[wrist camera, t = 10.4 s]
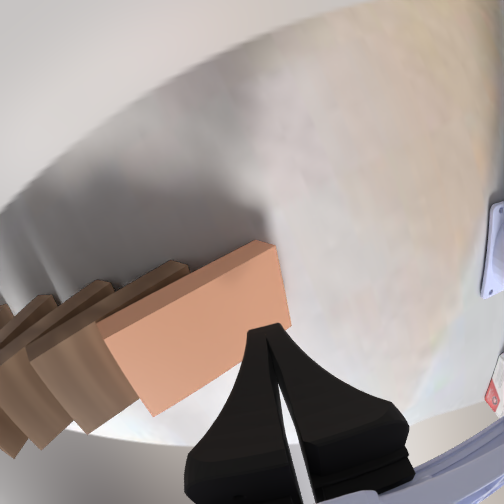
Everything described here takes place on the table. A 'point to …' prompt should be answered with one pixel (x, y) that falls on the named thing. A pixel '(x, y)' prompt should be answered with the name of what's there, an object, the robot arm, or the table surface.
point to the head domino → (196, 325)
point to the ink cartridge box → (497, 389)
